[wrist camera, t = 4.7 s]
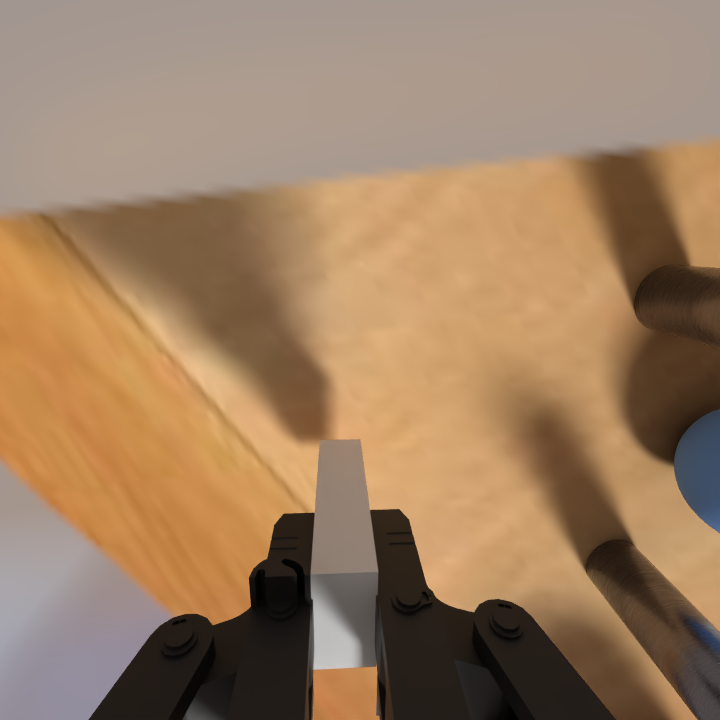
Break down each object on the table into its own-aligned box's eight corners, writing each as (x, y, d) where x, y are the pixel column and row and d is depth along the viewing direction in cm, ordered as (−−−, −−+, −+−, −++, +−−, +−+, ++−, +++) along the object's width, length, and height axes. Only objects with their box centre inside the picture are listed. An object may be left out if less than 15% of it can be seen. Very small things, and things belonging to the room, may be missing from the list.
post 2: (644, 539, 20) (884, 768, 11) (633, 584, 21) (853, 833, 12) (590, 541, 20) (792, 775, 11) (582, 587, 20) (766, 840, 12)
